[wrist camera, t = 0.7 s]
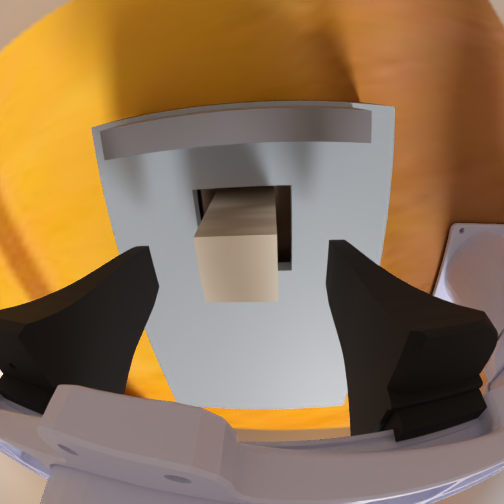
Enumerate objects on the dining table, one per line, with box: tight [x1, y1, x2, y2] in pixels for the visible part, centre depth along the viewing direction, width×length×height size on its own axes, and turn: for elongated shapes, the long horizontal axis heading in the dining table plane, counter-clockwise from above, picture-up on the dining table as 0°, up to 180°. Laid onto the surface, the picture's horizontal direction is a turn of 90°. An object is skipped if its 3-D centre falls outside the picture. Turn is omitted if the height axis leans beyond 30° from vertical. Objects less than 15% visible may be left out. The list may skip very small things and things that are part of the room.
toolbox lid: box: [92, 101, 395, 409], centre depth 16 cm, size 14×22×3 cm, turn 3°
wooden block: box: [193, 186, 278, 302], centre depth 14 cm, size 3×3×6 cm
